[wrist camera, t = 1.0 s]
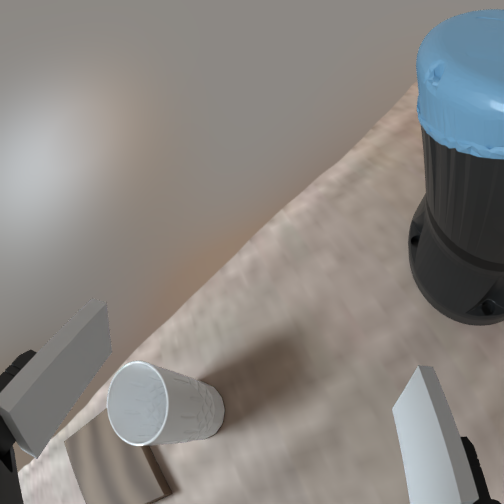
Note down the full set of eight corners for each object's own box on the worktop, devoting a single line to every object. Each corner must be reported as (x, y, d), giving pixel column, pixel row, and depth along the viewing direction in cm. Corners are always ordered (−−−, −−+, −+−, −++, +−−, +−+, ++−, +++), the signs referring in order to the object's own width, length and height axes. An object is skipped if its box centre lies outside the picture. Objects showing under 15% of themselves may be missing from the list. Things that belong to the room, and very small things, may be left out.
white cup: (186, 454, 31) (120, 456, 23) (163, 395, 35) (99, 382, 28) (242, 426, 30) (181, 426, 22) (212, 364, 35) (151, 344, 27)
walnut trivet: (129, 398, 37) (120, 396, 36) (172, 493, 29) (164, 494, 27) (71, 442, 38) (64, 441, 37) (102, 522, 29) (94, 523, 28)
